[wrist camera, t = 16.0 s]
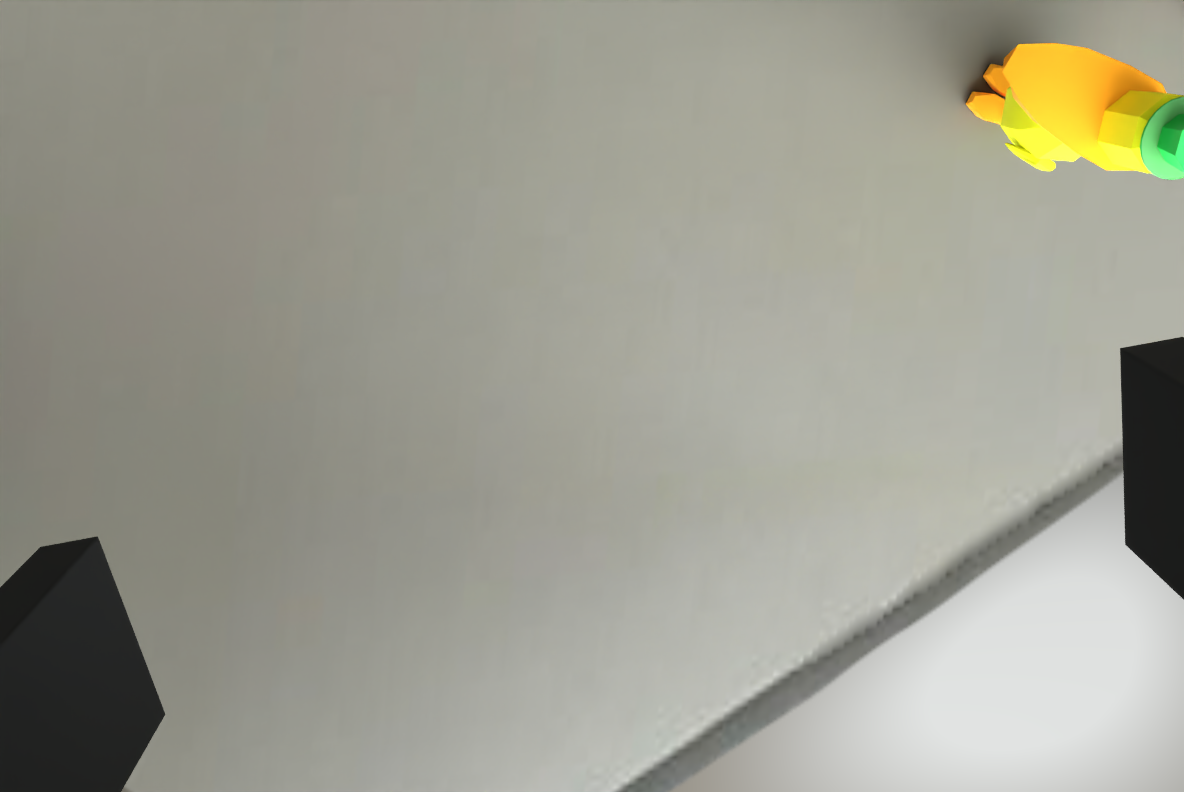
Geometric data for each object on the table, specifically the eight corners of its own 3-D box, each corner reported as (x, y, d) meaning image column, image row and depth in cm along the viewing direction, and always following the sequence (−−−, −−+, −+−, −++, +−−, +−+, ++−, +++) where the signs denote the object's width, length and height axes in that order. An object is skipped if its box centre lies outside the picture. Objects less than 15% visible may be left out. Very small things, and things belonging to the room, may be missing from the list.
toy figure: (889, 95, 38) (1026, 128, 27) (944, -1, 37) (1111, -9, 26) (1046, 182, 39) (1242, 250, 28) (1104, 91, 38) (1331, 123, 27)
